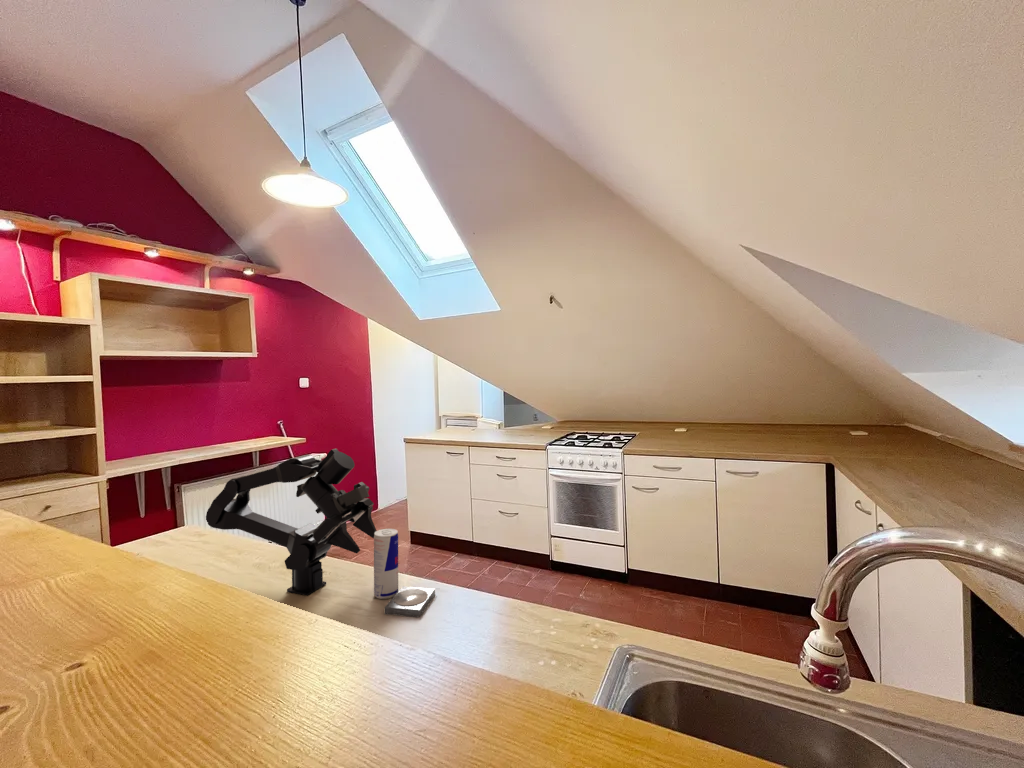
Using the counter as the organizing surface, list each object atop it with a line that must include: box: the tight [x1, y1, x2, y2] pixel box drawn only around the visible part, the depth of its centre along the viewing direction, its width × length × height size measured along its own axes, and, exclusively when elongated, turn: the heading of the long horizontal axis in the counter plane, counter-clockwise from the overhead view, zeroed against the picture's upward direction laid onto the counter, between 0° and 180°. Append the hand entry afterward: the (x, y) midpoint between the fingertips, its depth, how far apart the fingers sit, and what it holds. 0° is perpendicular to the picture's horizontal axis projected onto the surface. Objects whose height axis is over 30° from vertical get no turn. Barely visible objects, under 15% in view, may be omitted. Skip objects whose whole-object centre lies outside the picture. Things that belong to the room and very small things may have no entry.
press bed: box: [384, 585, 436, 618], centre depth 100 cm, size 8×10×2 cm
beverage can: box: [373, 528, 399, 600], centre depth 104 cm, size 6×6×15 cm
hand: (368, 544), depth 105 cm, fingers open, 9 cm apart
